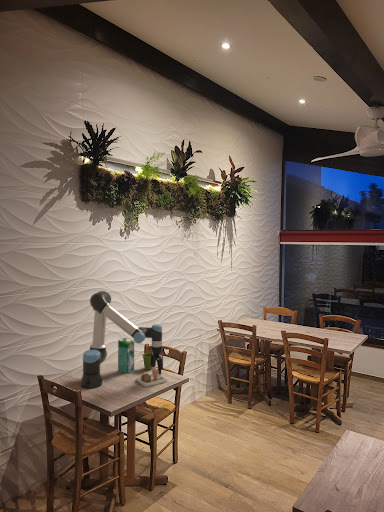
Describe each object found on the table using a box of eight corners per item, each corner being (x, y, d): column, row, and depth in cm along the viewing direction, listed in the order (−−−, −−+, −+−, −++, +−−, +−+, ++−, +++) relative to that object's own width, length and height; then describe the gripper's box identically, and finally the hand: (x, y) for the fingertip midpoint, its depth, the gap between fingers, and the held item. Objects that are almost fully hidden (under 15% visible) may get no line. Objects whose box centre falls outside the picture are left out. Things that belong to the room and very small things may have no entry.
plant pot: (159, 367, 328) (159, 353, 328) (151, 371, 317) (152, 357, 317) (146, 365, 333) (146, 351, 333) (139, 369, 322) (139, 355, 322)
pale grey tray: (146, 387, 284) (146, 383, 284) (135, 380, 297) (135, 377, 297) (166, 382, 295) (166, 378, 295) (155, 376, 307) (155, 373, 307)
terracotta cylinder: (161, 379, 298) (161, 370, 298) (155, 381, 295) (155, 371, 295) (157, 377, 302) (157, 368, 302) (151, 379, 299) (152, 369, 299)
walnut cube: (150, 382, 293) (150, 375, 292) (144, 383, 290) (144, 376, 289) (147, 380, 297) (147, 373, 296) (141, 381, 294) (141, 374, 293)
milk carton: (127, 373, 313) (127, 341, 312) (117, 371, 316) (118, 339, 315) (134, 370, 321) (134, 338, 320) (124, 368, 325) (124, 337, 324)
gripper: (168, 348, 292) (168, 379, 293) (154, 342, 307) (154, 372, 308) (159, 349, 287) (159, 381, 288) (145, 343, 303) (145, 374, 304)
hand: (156, 377), depth 298 cm, fingers open, 7 cm apart
